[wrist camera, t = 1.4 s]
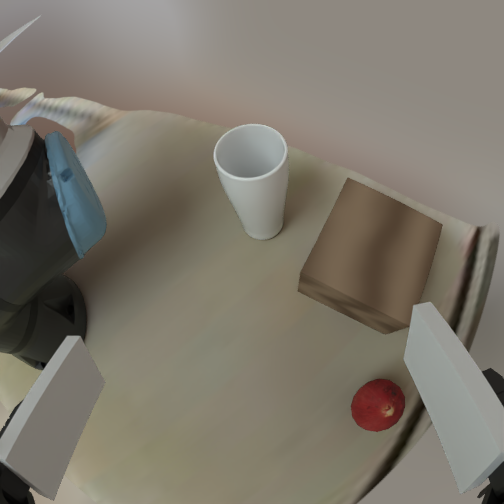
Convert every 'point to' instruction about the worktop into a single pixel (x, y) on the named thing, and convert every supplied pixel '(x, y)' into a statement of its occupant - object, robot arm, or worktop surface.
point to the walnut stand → (371, 258)
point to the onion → (378, 405)
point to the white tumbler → (254, 176)
